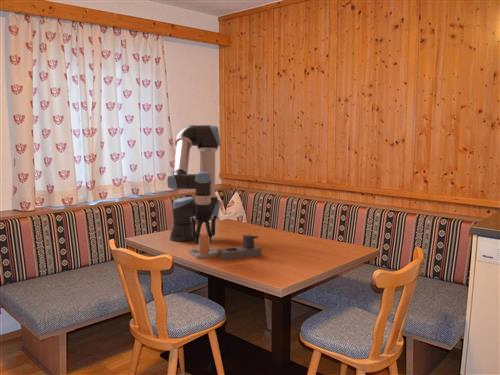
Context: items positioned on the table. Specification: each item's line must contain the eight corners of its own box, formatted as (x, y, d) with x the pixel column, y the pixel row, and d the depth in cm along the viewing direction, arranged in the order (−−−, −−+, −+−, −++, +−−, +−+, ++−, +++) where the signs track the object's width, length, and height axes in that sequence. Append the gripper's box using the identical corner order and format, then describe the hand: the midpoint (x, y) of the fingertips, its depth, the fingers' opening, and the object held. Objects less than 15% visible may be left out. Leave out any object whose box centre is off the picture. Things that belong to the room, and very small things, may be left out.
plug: (198, 253, 230) (198, 234, 229) (205, 252, 232) (205, 233, 231) (201, 255, 227) (201, 235, 225) (208, 254, 229) (208, 235, 227)
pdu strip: (217, 257, 227) (217, 237, 225) (253, 252, 236) (253, 233, 234) (224, 261, 220) (224, 240, 218) (261, 256, 229) (261, 236, 227)
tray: (188, 253, 232) (188, 249, 232) (209, 251, 237) (209, 247, 237) (196, 259, 222) (196, 255, 222) (218, 256, 227) (218, 252, 227)
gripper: (189, 206, 219) (189, 254, 222) (222, 203, 227) (222, 249, 230) (183, 203, 225) (184, 250, 229) (216, 201, 233) (216, 246, 236)
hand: (203, 250), depth 229 cm, fingers open, 4 cm apart
